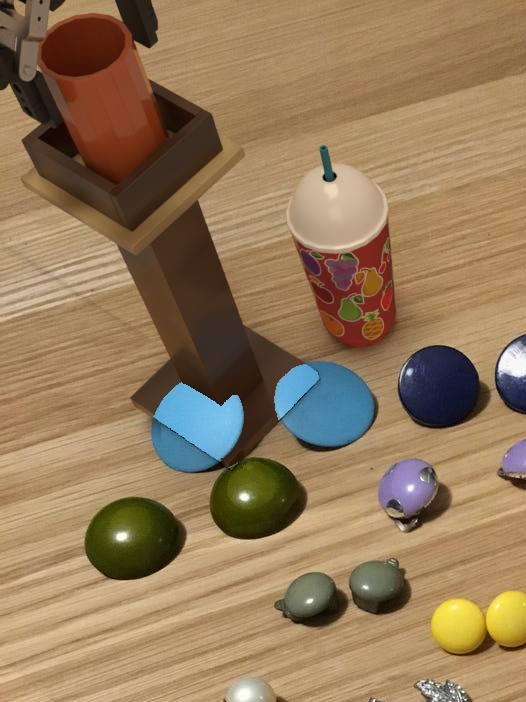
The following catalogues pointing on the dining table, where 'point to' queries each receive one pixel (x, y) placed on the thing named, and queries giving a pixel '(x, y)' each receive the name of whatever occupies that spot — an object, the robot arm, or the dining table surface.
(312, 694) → the dining table surface
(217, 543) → the dining table surface
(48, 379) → the dining table surface
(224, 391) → the holder
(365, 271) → the smoothie
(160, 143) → the cup
